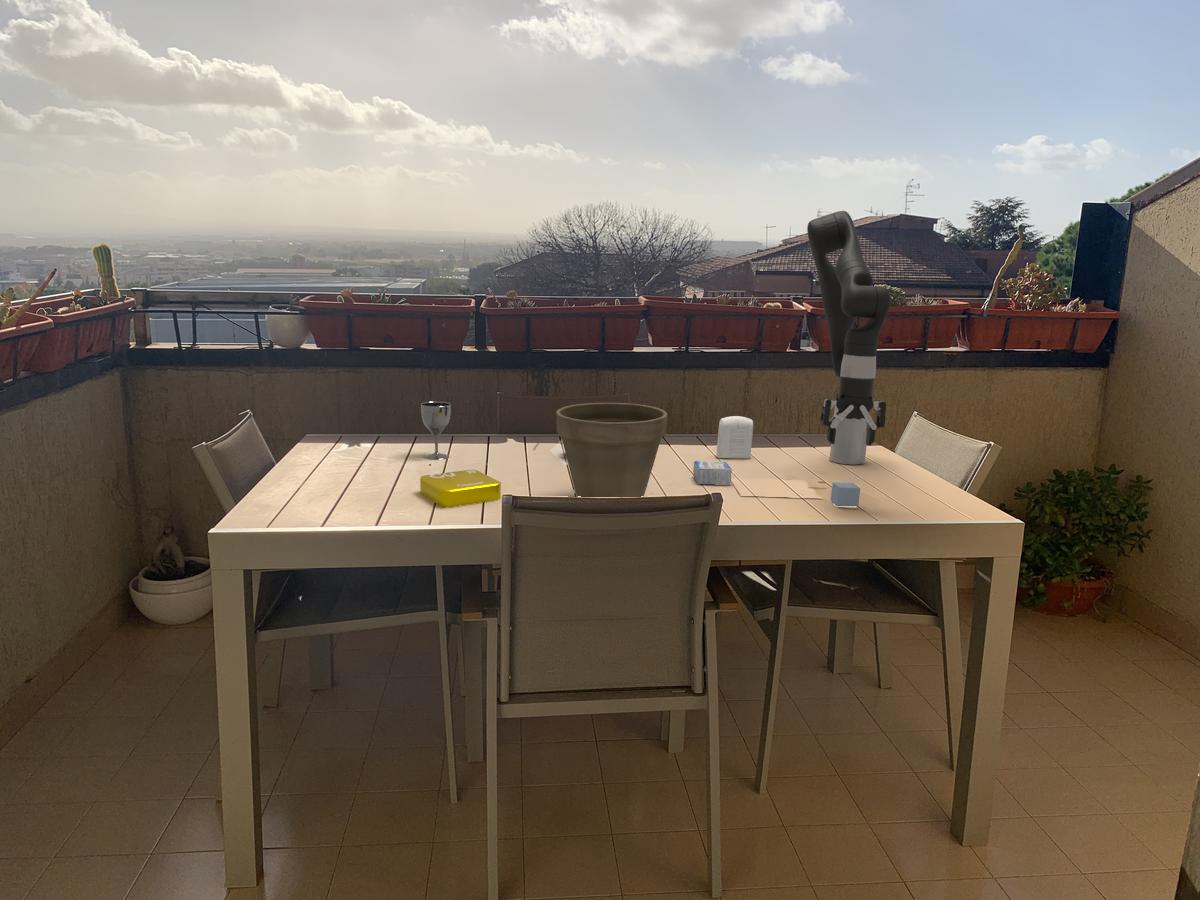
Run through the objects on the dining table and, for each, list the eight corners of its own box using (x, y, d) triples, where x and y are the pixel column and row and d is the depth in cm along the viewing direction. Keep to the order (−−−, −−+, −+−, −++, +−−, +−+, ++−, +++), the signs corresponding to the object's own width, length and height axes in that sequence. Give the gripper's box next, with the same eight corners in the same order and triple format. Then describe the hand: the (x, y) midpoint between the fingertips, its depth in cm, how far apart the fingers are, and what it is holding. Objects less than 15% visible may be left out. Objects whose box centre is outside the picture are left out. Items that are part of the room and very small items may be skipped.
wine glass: (416, 458, 214) (415, 404, 211) (432, 452, 221) (431, 400, 218) (440, 461, 211) (439, 407, 208) (456, 455, 218) (456, 403, 215)
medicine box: (732, 468, 196) (698, 467, 195) (730, 485, 197) (696, 484, 196) (726, 461, 203) (693, 460, 203) (725, 477, 204) (692, 476, 204)
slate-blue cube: (851, 502, 186) (853, 482, 185) (857, 508, 181) (860, 488, 180) (830, 501, 186) (832, 481, 184) (836, 508, 181) (838, 487, 180)
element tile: (443, 510, 171) (442, 489, 169) (417, 493, 183) (417, 473, 181) (503, 501, 179) (504, 481, 178) (475, 485, 191) (475, 466, 190)
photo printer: (748, 456, 230) (751, 415, 227) (752, 459, 226) (756, 417, 223) (714, 456, 228) (717, 414, 226) (718, 459, 224) (721, 417, 221)
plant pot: (544, 515, 168) (545, 417, 163) (564, 485, 192) (566, 399, 187) (658, 524, 165) (664, 424, 160) (665, 492, 189) (670, 404, 184)
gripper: (883, 374, 180) (875, 442, 184) (821, 371, 180) (815, 439, 184) (894, 378, 173) (886, 449, 176) (831, 375, 173) (823, 446, 176)
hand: (849, 444), depth 180 cm, fingers open, 8 cm apart
